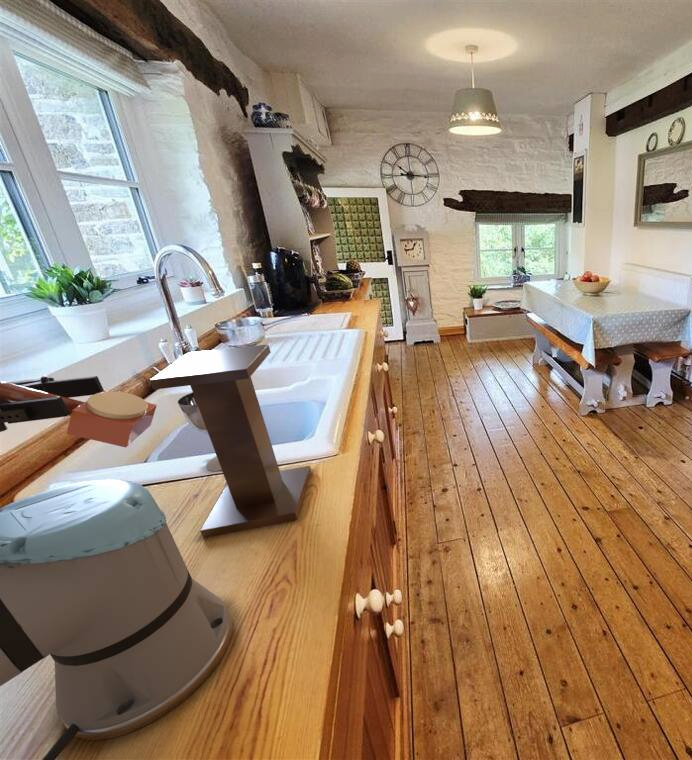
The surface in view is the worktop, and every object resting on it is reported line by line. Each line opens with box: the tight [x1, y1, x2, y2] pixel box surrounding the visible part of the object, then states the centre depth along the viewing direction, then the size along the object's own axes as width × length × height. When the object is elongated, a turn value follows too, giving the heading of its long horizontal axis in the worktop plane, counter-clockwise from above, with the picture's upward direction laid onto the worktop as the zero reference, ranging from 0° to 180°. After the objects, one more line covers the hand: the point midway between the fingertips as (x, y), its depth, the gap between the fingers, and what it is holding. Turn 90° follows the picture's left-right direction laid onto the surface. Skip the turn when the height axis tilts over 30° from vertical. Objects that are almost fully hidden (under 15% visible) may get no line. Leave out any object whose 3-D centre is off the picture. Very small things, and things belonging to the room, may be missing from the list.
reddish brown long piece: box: [0, 381, 158, 448], centre depth 60 cm, size 17×7×5 cm, turn 106°
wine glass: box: [177, 392, 222, 472], centre depth 83 cm, size 8×8×15 cm
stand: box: [149, 343, 312, 539], centre depth 68 cm, size 14×14×27 cm
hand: (82, 395), depth 60 cm, fingers closed on reddish brown long piece, 7 cm apart
